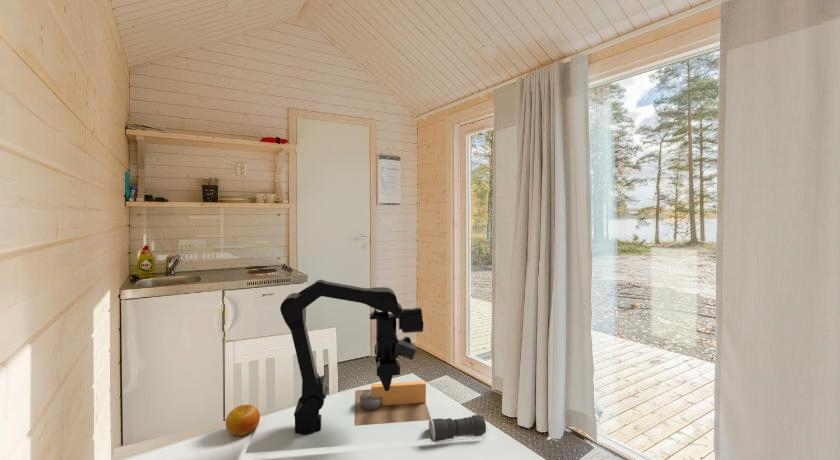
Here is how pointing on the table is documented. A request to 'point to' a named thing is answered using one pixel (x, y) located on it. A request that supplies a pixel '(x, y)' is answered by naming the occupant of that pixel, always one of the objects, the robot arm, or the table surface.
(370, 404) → the orange and grey block
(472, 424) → the flashlight
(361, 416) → the board
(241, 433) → the fruit
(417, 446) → the table surface
